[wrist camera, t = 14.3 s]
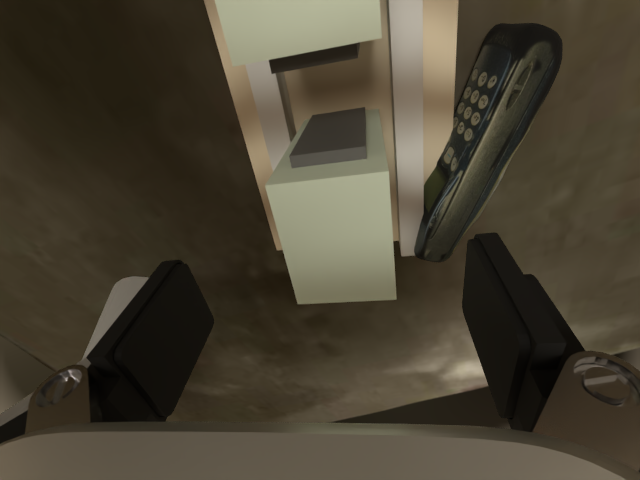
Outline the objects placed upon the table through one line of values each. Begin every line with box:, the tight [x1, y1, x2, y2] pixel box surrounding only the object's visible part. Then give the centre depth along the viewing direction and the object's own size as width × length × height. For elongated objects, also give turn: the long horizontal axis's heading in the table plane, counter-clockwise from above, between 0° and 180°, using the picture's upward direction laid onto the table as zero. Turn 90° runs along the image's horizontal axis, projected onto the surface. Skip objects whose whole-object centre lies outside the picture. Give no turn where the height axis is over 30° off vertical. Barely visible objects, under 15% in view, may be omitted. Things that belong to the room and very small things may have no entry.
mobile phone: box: [414, 23, 562, 262], centre depth 20 cm, size 5×3×15 cm
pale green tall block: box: [265, 107, 397, 304], centre depth 17 cm, size 4×6×10 cm
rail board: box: [204, 0, 458, 256], centre depth 16 cm, size 20×13×12 cm, turn 10°
